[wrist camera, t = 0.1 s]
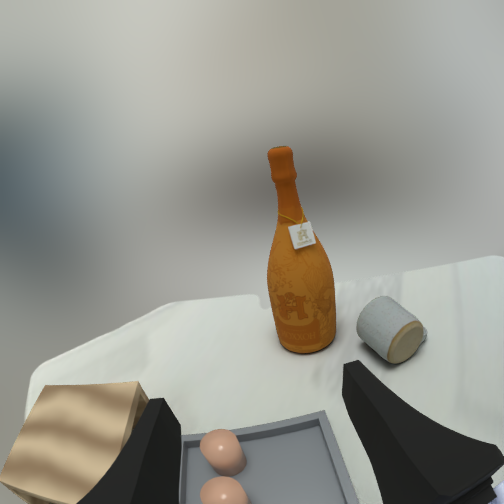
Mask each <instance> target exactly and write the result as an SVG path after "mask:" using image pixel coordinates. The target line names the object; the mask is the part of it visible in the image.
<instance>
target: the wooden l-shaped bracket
mask: <svg viewBox="0 0 504 504" xmlns="http://www.w3.org/2000/svg"><path fill="white" fill-rule="evenodd" d="M148 401H149V399H148V397H147V396H146V394H145V392H144V390H143V389H142V387H141V385H140V383H139V382H138V381H135V382H123V383H109V384H90V385H45V386H44V388H43V390H42V392H41V393H40V395H39V397H38V399H37V401H36V402H35V404H34V406H33V408H32V410H31V412H30V414H29V415H28V417H27V419H26V421H25V423H24V425H23V427H22V429H21V431H20V433H19V435H18V437H17V439H16V441H15V443H14V445H13V448H12V450H11V452H10V454H9V456H8V458H7V461H6V463H5V465H4V468H3V470H2V472H1V475H0V482H1V483H2V484H3V485H5V486H6V487H7V488H8V489H9V490H11V491H12V492H13V493H15V494H16V495H17V496H18V497H20V498H21V499H22V500H23V501H25V502H26V503H27V504H50V502H52V503H56V504H76V503H77V502H79V501H80V500H81V499H82V498H83V497H84V496H85V495H86V494H87V493H88V492H89V491H90V490H91V489H92V488H93V487H94V486H95V485H96V484H97V483H98V481H99V480H100V479H101V478H102V477H103V476H104V474H105V473H106V472H107V470H108V469H109V468H110V467H111V465H112V464H113V462H114V461H115V459H116V458H117V456H118V455H119V453H120V452H121V450H122V448H123V447H124V445H125V444H126V442H127V440H128V438H129V437H130V435H131V430H132V429H133V428H135V426H136V424H137V422H138V420H139V418H140V417H141V415H142V413H143V411H144V409H145V407H146V405H147V403H148Z"/></svg>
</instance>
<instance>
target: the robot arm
mask: <svg viewBox="0 0 504 504" xmlns="http://www.w3.org/2000/svg"><path fill="white" fill-rule="evenodd" d="M342 396H343V399H344V403H345V406H346V409H347V412H348V414H349V417H350V419H351V421H352V423H353V425H354V427H355V430H356V432H357V434H358V436H359V438H360V440H361V442H362V444H363V446H364V448H365V450H366V453H367V455H368V457H369V459H370V462H371V464H372V467H373V470H374V473H375V477H376V480H377V483H378V486H379V490H380V493H381V497H382V500H383V504H504V481H502V482H501V483H500V484H498V485H497V486H496V487H495V488H492V486H491V484H492V483H493V480H492V478H491V476H492V475H493V474H494V473H495V472H496V471H497V470H499V469H500V468H501V467H502V466H503V465H504V456H503V454H502V453H501V451H500V450H499V449H498V447H497V446H496V445H494V444H490V443H486V442H482V441H479V440H476V439H473V438H470V437H467V436H464V435H462V434H460V433H457V432H455V431H453V430H451V429H449V428H446V427H444V426H442V425H440V424H439V423H437V422H435V421H433V420H431V419H430V418H428V417H426V416H425V415H423V414H422V413H420V412H419V411H417V410H416V409H414V408H413V407H411V406H410V405H409V404H407V403H406V402H405V401H403V400H402V399H401V398H400V397H398V396H397V395H396V394H395V393H394V392H392V391H391V390H390V389H389V388H388V387H386V386H385V385H384V384H383V383H382V382H381V381H380V380H379V379H378V378H377V377H376V376H374V375H373V374H372V373H371V372H370V371H369V370H368V369H367V368H366V367H365V366H364V365H363V364H362V363H361V362H360V361H359V360H356V361H353V362H349V363H346V364H344V367H343V386H342ZM181 452H182V439H181V425H180V423H179V422H178V420H177V418H176V417H175V415H174V414H173V412H172V411H171V409H170V407H169V406H168V404H167V403H166V401H165V399H164V398H156V399H150V400H149V401H148V403H147V405H146V407H145V409H144V411H143V413H142V415H141V417H140V418H139V420H138V422H137V424H136V426H135V428H134V430H133V431H132V433H131V435H130V437H129V438H128V440H127V442H126V444H125V445H124V447H123V448H122V450H121V452H120V453H119V455H118V456H117V458H116V459H115V461H114V462H113V464H112V465H111V467H110V468H109V469H108V470H107V472H106V473H105V474H104V476H103V477H102V478H101V479H100V480H99V481H98V483H97V484H96V485H95V486H94V487H93V488H92V489H91V490H90V491H89V492H88V493H87V494H86V495H85V496H84V497H83V498H82V499H81V500H80V501H79V502H77V503H76V504H179V482H180V466H181Z"/></svg>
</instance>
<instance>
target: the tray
mask: <svg viewBox="0 0 504 504" xmlns="http://www.w3.org/2000/svg"><path fill="white" fill-rule="evenodd" d="M229 431H231V432H232V433H234V434H235V436H236V437H237V440H238V442H239V444H240V446H241V448H242V450H243V452H244V454H245V456H246V459H247V463H246V466H245V468H244V470H243V471H242V472H240V473H239V474H237V475H235V476H230V478H233V479H235V480H236V481H238V482H239V483H240V485H241V486H242V488H243V489H244V491H245V493H246V494H247V496H248V498H249V499H250V501H251V503H252V504H359V501H358V499H357V496H356V493H355V490H354V488H353V485H352V482H351V480H350V477H349V474H348V471H347V469H346V466H345V463H344V461H343V458H342V455H341V453H340V450H339V447H338V445H337V442H336V439H335V437H334V434H333V431H332V429H331V426H330V423H329V421H328V418H327V415H326V413H325V410H323V411H319V412H315V413H311V414H308V415H304V416H299V417H295V418H291V419H287V420H282V421H277V422H273V423H268V424H263V425H257V426H252V427H246V428H240V429H233V430H229ZM206 434H207V433H202V434H191V435H181V439H182V452H181V466H180V482H179V504H203V503H202V501H201V498H200V491H201V488H202V487H203V485H204V484H205V483H206V482H207V481H209V480H210V479H212V478H215V477H221V475H219V474H217V473H216V472H215V471H214V469H213V468H212V467H211V465H210V464H209V462H208V461H207V459H206V458H205V456H204V455H203V453H202V452H201V450H200V442H201V440H202V438H203V437H204V436H205V435H206Z"/></svg>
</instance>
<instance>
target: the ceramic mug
mask: <svg viewBox="0 0 504 504" xmlns="http://www.w3.org/2000/svg"><path fill="white" fill-rule="evenodd" d="M356 328H357V333H358V336H359V337H360V338H361V339H362V340H363V341H364V342H366V343H367V344H368V345H369V346H370V347H371V348H372V349H374V350H375V351H376V352H377V353H378V354H379V355H380V356H381V357H382V358H384V359H385V360H387V361H388V362H390V363H393V364H395V363H400V362H403V361H405V360H407V359H408V358H409V357H410V356H412V355H413V353H414V352H415V351H416V350H417V348H418V347H419V345H420V343H422V342H423V341H424V340H425V338H426V336H427V330H426V329H425V327H423V325H422V324H421V322H420V321H419V320H418V319H417V318H416V317H415V316H414V315H413V314H411V313H410V312H408V311H407V310H406V309H405V308H403V307H402V306H401V305H400V304H398V303H397V302H396V301H395V300H393V299H392V298H390V297H388V296H380V297H377V298H375V299H374V300H372V301H371V302H370V303H368V304H367V305H366V307H365V308H364V309H363V311H362V312H361V314H360V316H359V318H358V321H357V327H356Z"/></svg>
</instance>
